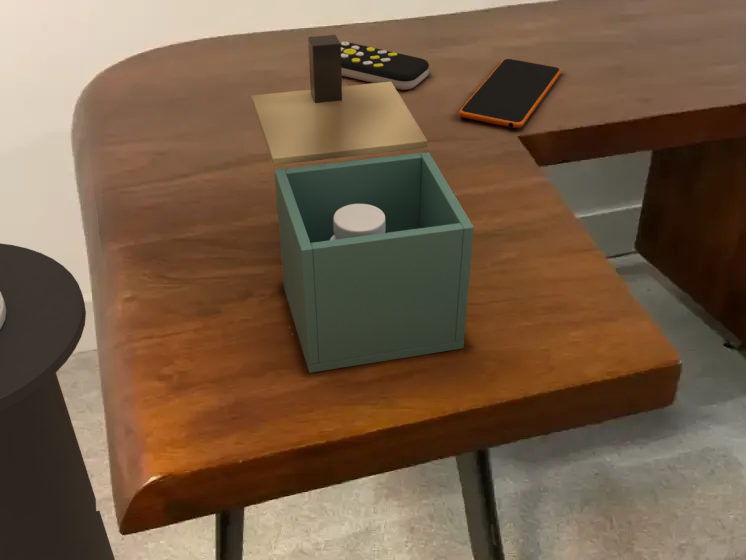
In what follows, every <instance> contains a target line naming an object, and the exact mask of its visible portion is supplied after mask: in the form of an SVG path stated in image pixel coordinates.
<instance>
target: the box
mask: <svg viewBox="0 0 746 560" xmlns="http://www.w3.org/2000/svg"><path fill="white" fill-rule="evenodd" d="M274 182H275V195H276V196H275V197H276V205H277V208H276V209H277V218H278V219H277V220H278V231H279V233H278V234H279V244H280V253H281V254H280V255H281V256H280V258H281V267H282V280H283V289H284V292H285V295H286V299H287V302H288V305H289V310H290V313H291V316H292V319H293V322H294V326H295V329H296V333H297V335H298V340H299V343H300V347H301V350H302V354H303V357H304V360H305V364H306V367H307V370H308V372H309V373H317V372H324V371H329V370H336V369H342V368H343V369H344V368H348V367H355V366H362V365H367V364H374V363H380V362H381V363H382V362H386V361H391V360H392V361H393V360H398V359H407V358H410V357H411V358H412V357H418V356H424V355H431V354H436V353H441V352H442V353H443V352H447V351H448V352H450V351H456V350H461V349H464V347H465V333H466V323H467V322H466V321H467V310H468V301H469V289H470V276H471V265H472V254H473V241H474V230H475V228H474V224H473V223H472V221H471V220H470V218H469V217H468V215H467V213H466V211H465V210H464V209H463V206H462V205H461V203H460V202H459V199H458V198H457V196H456V195H455V193H454V192H453V190H452V188H451V187H450V185H449V183H448V182H447V180H446V177H444V175H443V173H442V171H441V170H440V168H439V167H438V165H437V163H436V161H435V159H434V158H433V156H432V155H431V153H430V152H429V151H426V152H425V151H424V152H416V153H407V154H397V155H389V156H382V157H373V158H372V157H371V158H364V159H363V158H362V159H355V160H348V161H339V162H329V163H322V164H314V165H313V164H311V165H305V166H297V167H288V168H278V169H274ZM351 204H368V205H372V206H375V207H377V208H379V209H380V210H382V212H383V213H384V215H385V225H386V228H385V233H382V234H374V235H367V236H359V237H352V238H344V239H337V240H330V239H331V237H332V236H333V235H334V231H333V218H334V214H335V213H336V211H337V210H339V209H340V208H342V207H344V206H347V205H351Z"/></svg>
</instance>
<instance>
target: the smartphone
mask: <svg viewBox="0 0 746 560" xmlns="http://www.w3.org/2000/svg"><path fill="white" fill-rule="evenodd" d="M561 74H562V69H561V68H560V67H558V66H553V65H547V64H541V63H535V62H530V61H524V60H520V59H519V60H518V59H513V58H504V59H503V60H501V62H500V63H499V64H498V65H497V66H496V67H495V69H494V70H493V71H492V72H491V73H490V74H489V76H488V77H487V78H486V79H485V80H484V82H482V84H481V85H480V86H479V87H478V88H477V89H476V90H475V92H474V93H473V94H471V97H469V99H468V100H467V101H466V102H464V104H463V106H462V107H461V108H460V109H459V111H458V114H459V116H460V117H462V118H465V119H470V120H475V121H478V122H479V121H480V122H484V123H488V124H494V125H498V126H499V125H500V126H502V127H503V126H505V127H509V128H514V129H519V128H522V127H523V126H524V125H525V124H526V122H527V121H528V119H529V118H530V116H531V115H532V114H533V112H534V111H535V110H536V108H537V107H538V106H539V104H540V103H541V101H542V100H543V99H544V97H545V96H546V95H547V94H548V92H549V91H550V89H551V87H552V86H553V85H554V84H555V82H556V81H557V80H558V78H559V77H560V75H561Z"/></svg>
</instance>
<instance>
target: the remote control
mask: <svg viewBox="0 0 746 560" xmlns="http://www.w3.org/2000/svg"><path fill="white" fill-rule="evenodd" d="M340 43H341V72H342V77H346V78H351V79H355V80H358V81H363V82H367V83H370V84H371V83H381V82H392V84H393V85H394V87H395V88H396V90H402V91H403V90H405V91H406V90H412V89H414V88H415V87H416V86H418V85H419V84H420V83H421V82H423V80H425V79H426V78H427V77H428V76H429V74H430V73H429V72H430V63H429V62H428V61H427V60H426V59H424V58H421V57H417V56H412V55H408V54H403V53H399V52H394V51H389V50H385V49H380V48H376V47H372V46H367V45H363V44H358V43H354V42H349V41H342V42H340Z"/></svg>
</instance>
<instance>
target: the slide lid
mask: <svg viewBox="0 0 746 560" xmlns="http://www.w3.org/2000/svg"><path fill="white" fill-rule="evenodd" d="M341 43H342V42H340V39H339V38H338V36H337V34H329V35H318V36H308V37H307V47H308V64H309V67H308V68H309V83H310V86H309V87H310V89H304V90H294V91H284V92H275V93H274V92H273V93H264V94H255V95H251V104H252V106H253V110H254V113H255V115H256V118H257V121H258V125H259V127H260V130H261V133H262V136H263V139H264V142H265V144H266V148H267V152H268V154H269V156H270V159H271V163H272V165H273V166H279V165H287V164H295V163H304V162H312V161H313V162H314V161H322V160H331V159H339V158H348V157H355V156H356V157H357V156H363V155H364V156H365V155H374V154H382V153H392V152H398V151H407V150H417V149H425V148H428V139H427V138H426V136H425V135H424V133H423V131H422V129H421V128H420V126H419V124H418V123H417V121H416V119H415V118H414V116H413V114H412V113H411V111H410V110H409V107H408V106H407V105H406V103H405V101H404V100H403V98H402V97H401V95H400V93H399V92H398V89H397V88H395V87H394V85H393V84H392V82H381V83H371V82H370V83H363V84H352V85H343V76H342V72H341Z"/></svg>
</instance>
